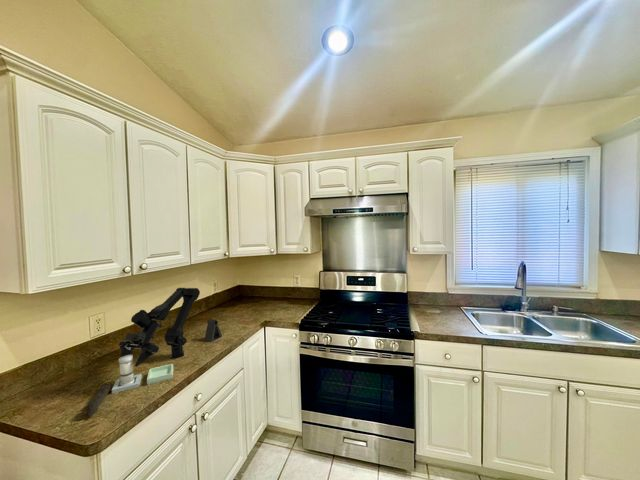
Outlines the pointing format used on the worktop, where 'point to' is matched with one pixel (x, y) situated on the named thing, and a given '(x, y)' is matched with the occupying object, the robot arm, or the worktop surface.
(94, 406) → the hand tool
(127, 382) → the mushroom-shaped knob
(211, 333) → the phone stand
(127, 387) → the rectangular open frame
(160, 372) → the parts tray
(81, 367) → the worktop surface
